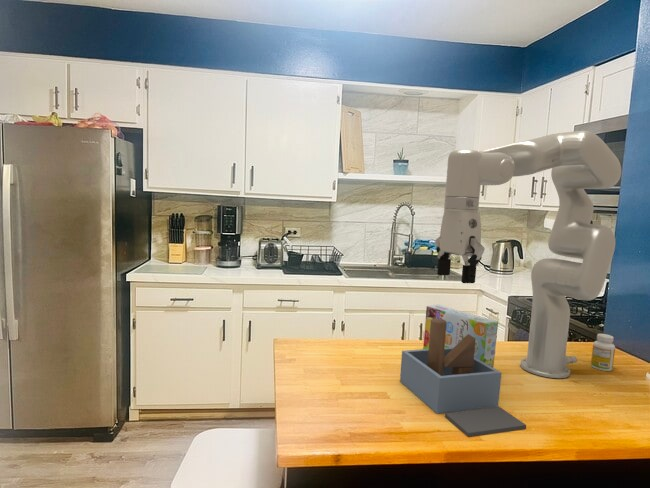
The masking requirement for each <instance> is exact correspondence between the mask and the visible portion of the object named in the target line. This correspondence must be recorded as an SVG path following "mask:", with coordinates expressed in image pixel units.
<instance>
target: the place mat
mask: <svg viewBox="0 0 650 488" xmlns="http://www.w3.org/2000/svg"><path fill="white" fill-rule="evenodd" d="M444 417H445V419H446V420H448V421H449V422H450V423H451V424H452V425H454V426H455V427H456V428H457V429H458V430H459V431H461V432H462V433H463V434H464V435H465V436H466V437H468V438H470V437H478V436H483V435H491V434H499V433H504V432H511V431H518V430H526V429H527V424H526V423H525V422H523V421H522V420H520V419H518V418H517V417H515V416H514V415H512V414H511V413H510V412H508V411H507V410H505V409H503V408H502V407H501V406H498V407H491V408H482V409H474V410H466V411H457V412H449V413H444Z"/></svg>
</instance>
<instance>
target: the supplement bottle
mask: <svg viewBox="0 0 650 488" xmlns="http://www.w3.org/2000/svg"><path fill="white" fill-rule="evenodd" d="M591 352H592V353H591V360H590V366H591V367H592V368H593V369H596V370H598V371H603V372H611V371H613V368H614V360H615V353H616V346H615V344H614V336H612V335H611V334H606V333H597V335H596V340H595V341H594V342H593V344H592V351H591Z"/></svg>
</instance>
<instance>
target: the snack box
mask: <svg viewBox="0 0 650 488" xmlns="http://www.w3.org/2000/svg"><path fill="white" fill-rule="evenodd" d="M425 310H426V311H425V322H424V335H423V345H422V346H423V348H422V349H429V338H430V325H431V319H435V318H437V319H443V320H445V321H446V335H445V347H444V348H451V347H455V346H456V345H457V344H458V343H459V342H460V341H461V340H462V339H463V338H464V337H465V336H467V335H468V334H469V335H471V336H472V337H474V338H475V339H476V340H475V352H474V357H475V358H477V359H478V360H480V361H482V362H484V363H485V364H487V365H489V366H491V367H493V368H494V367H495V366H494V365H495V356H496V347H497V337H498V330H499V329H498V328H499V321H498V320H494V319H491V318H487V317H483V316H479V315H476V314H472V313H470V312H466V311H462V310H458V309H455V308H453V307H448V306H445V305H441V304H433V305H432V304H431V305H427V306H426V309H425ZM494 369H495V368H494Z"/></svg>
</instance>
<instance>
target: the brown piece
mask: <svg viewBox="0 0 650 488" xmlns="http://www.w3.org/2000/svg"><path fill="white" fill-rule="evenodd" d="M445 335H446V321H445V320H443V319H437V318H435V319H431V325H430V338H429V351H428V364H427V366H428V367H429V368H431V369H432V370H434V371H435V372H436V373H438V374H439V375H440V376H442V372H443V365H444V366H445V367H453V369H452V375H458V374H469V373H472V372H473V363H474V352H475V340H476V339H475V338H474V337H472V336H471V335H469V334H468V335H467V336H465V337H464V338H463V339H462V340H461V341H460V342H459V343H458V344H457V345H456V346H455V347H454V348H453V349H452V350H451V351H450V352H449V353H448V354H447V355H446V356H445V357H444V347H445Z"/></svg>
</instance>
